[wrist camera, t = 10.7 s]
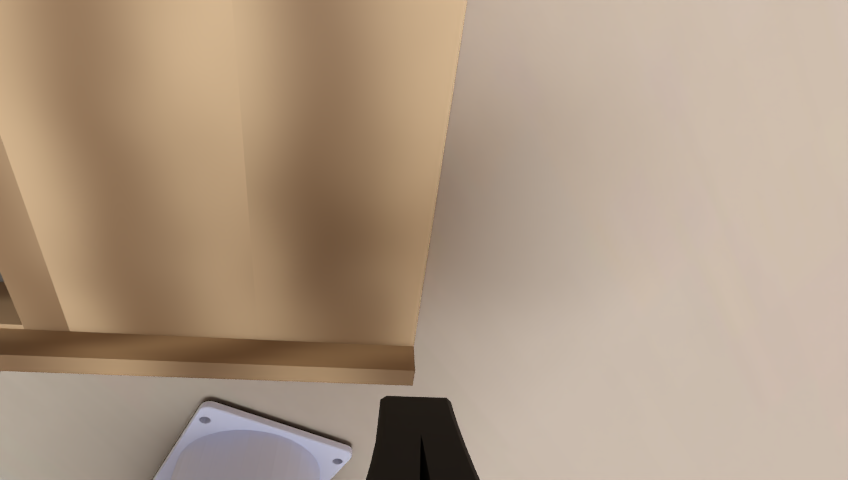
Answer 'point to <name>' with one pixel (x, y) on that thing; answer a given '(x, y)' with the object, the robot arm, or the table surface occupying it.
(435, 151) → the wooden compartment tray
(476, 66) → the table surface
